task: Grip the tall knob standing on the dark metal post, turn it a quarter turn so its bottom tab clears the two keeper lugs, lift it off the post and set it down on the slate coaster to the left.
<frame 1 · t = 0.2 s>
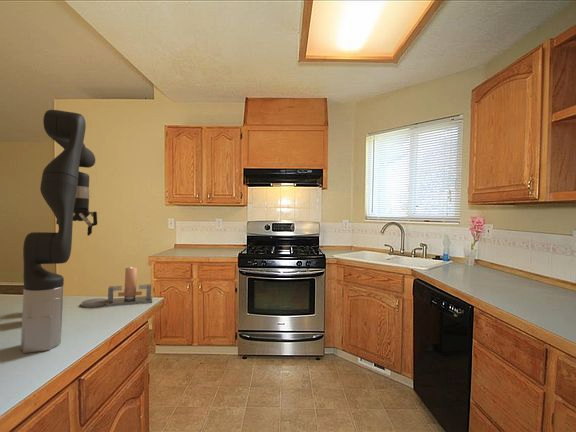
hand: (76, 235, 131), 29 cm above the counter, tool pointing down, fingers open, 8 cm apart
keeper post: (129, 301, 137), on the counter
coaster: (95, 304, 132), on the counter
knob: (130, 295, 137), point 3 cm above the counter, touching keeper post
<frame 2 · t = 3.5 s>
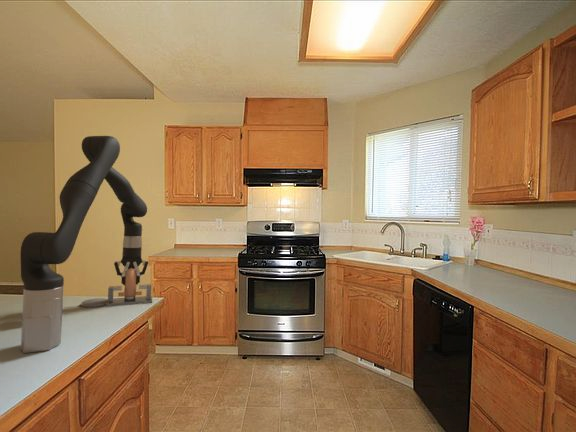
hand: (130, 284, 137), 8 cm above the counter, tool pointing down, fingers closed on knob, 4 cm apart
knob: (130, 295, 137), point 3 cm above the counter, touching gripper, keeper post
everything else where it was.
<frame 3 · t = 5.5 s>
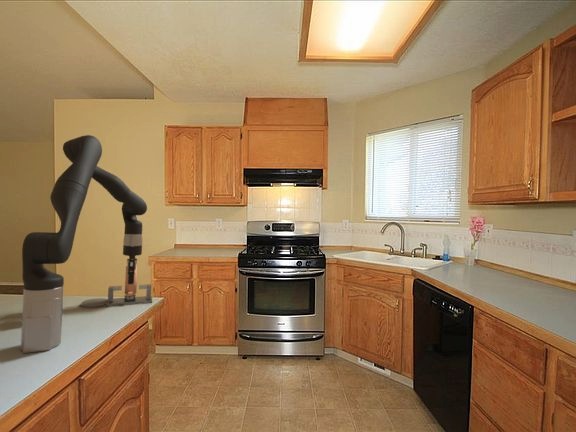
hand: (131, 282, 137), 9 cm above the counter, tool pointing down, fingers closed on knob, 4 cm apart
knob: (130, 293, 137), point 4 cm above the counter, touching gripper
everything else where it was.
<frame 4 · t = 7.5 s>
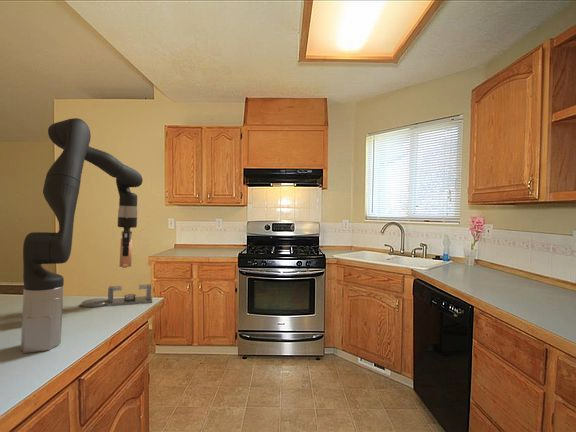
hand: (125, 255, 136), 21 cm above the counter, tool pointing down, fingers closed on knob, 4 cm apart
knob: (125, 266, 136), point 16 cm above the counter, touching gripper
everything else where it was.
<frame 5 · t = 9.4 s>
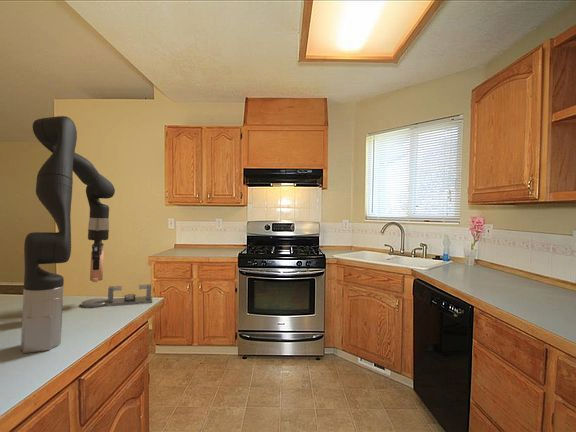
hand: (96, 268, 131), 15 cm above the counter, tool pointing down, fingers closed on knob, 4 cm apart
knob: (96, 279, 132), point 10 cm above the counter, touching gripper
everything else where it was.
when the fingers open (7 cm above the counter, at t = 11.3 s): knob stays where it is, resting on coaster.
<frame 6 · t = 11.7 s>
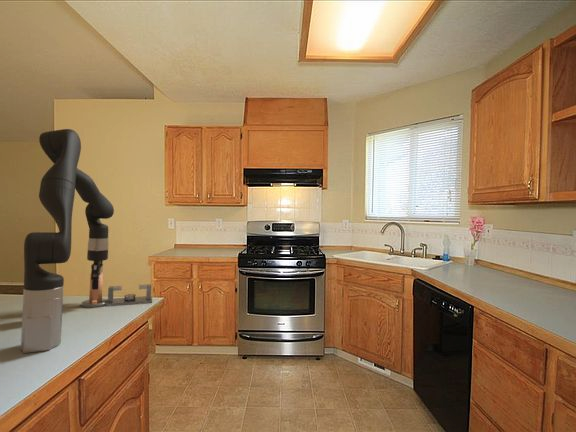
hand: (96, 286, 132), 7 cm above the counter, tool pointing down, fingers open, 8 cm apart
knob: (95, 301, 131), point 1 cm above the counter, touching coaster
everything else where it was.
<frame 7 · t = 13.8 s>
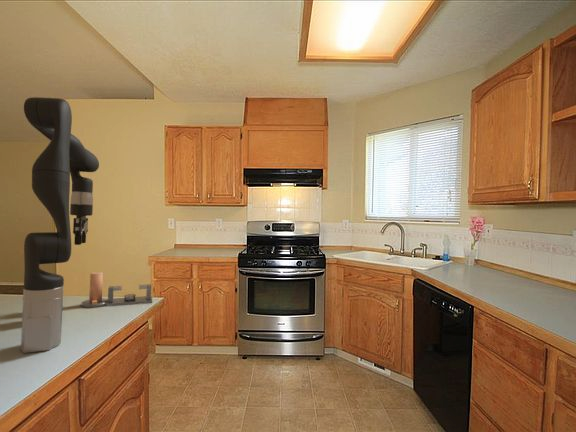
hand: (80, 243, 124), 26 cm above the counter, tool pointing down, fingers open, 8 cm apart
nothing on the counter moved.
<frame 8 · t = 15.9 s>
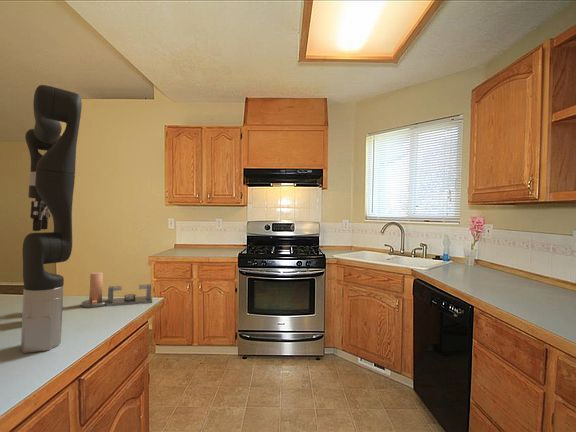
hand: (40, 230, 112), 32 cm above the counter, tool pointing down, fingers open, 8 cm apart
nothing on the counter moved.
at the end: knob inside the target area on the coaster (0.1 cm from its centre), point 1.2 cm above the coaster's base; knob tilted 0°; the gripper is holding nothing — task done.
